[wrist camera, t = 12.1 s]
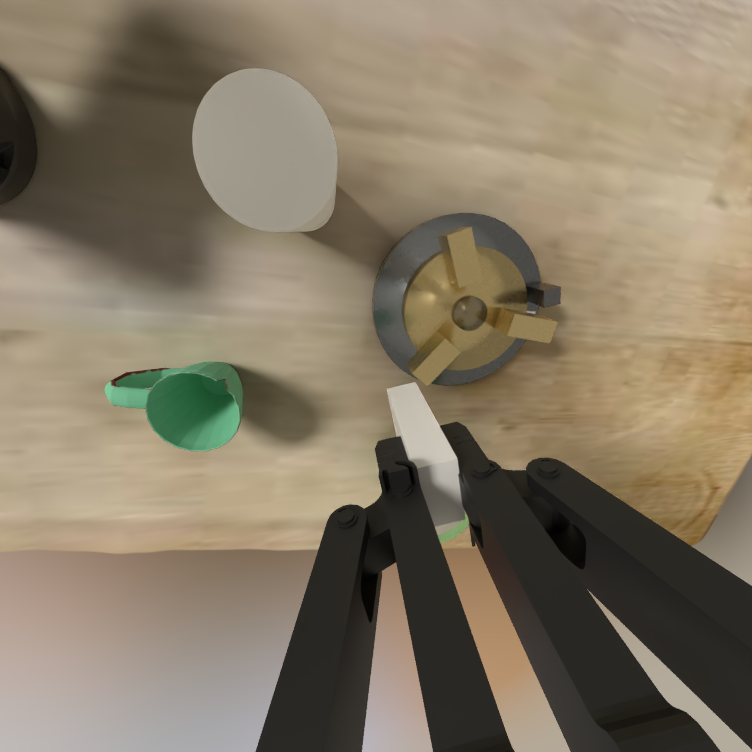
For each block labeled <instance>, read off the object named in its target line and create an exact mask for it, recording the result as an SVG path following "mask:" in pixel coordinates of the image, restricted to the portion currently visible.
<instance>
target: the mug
mask: <svg viewBox="0 0 752 752" xmlns="http://www.w3.org/2000/svg"><path fill="white" fill-rule="evenodd" d="M149 387H152V388H151V389H143V388H149ZM105 394H106V396H107V397H108V399H109V400H110V402H111V403H112V405H114V406H120V407H127V408H140V409H146V415H147V419H148V421H149V423H150V425H151V426H152V428H153V430H154V431H155V432H156V433H157V434H158V435H159V436H160V437H161V438H162V439H163V440H164V441H166V442H168V443H170V444H172V445H173V446H175V447H177V448H181V449H185V450H189V451H209V450H212V449H216V448H219V447H221V446H222V445H224V444H226V443H227V442H229V441H230V440H231V439H232V437H233V436H234V435H235V434H236V432H237V431H238V428H239V425H240V422H241V419H242V414H243V413H242V404H243V389H242V384H241V381H240V379H239V376H238V374H237V372H236V371H235V370H234V368H233V367H231V366H230V365H228V364H226V363H223V362H203V363H198V364H194V365H191V366H188V367H184V368H182V369H178V368H159V369H151V370H143V371H134V372H126V373H125V374H123V375H121V376H119V377H117V378H115V379H113V380H111V381H110V382H109V383H108V384H107V385H106V387H105Z"/></svg>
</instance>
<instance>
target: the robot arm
mask: <svg viewBox="0 0 752 752" xmlns="http://www.w3.org/2000/svg"><path fill="white" fill-rule="evenodd" d="M35 162H36V139H35V133H34V129H33V125H32V122H31V119H30V116H29V114H28V111H27V109H26V107H25V105H24V103H23V101H22V99H21V97H20V96H19V94H18V92H17V91H16V89H15V88H14V86H13V85H12V84H11V82H10V81H9V79H8V78H7V77H6V76H5V75H4V73H3V72H2V71H1V70H0V204H1V203H4V202H6V201H8V200H10V199H12V198H14V197H15V196H17V195H18V194H19V193H20V192H21V191H22V190H23V189H24V188H25V187H26V185H27V184H28V182H29V180H30V179H31V176H32V174H33V171H34V167H35ZM387 393H388V398H389V403H390V408H391V413H392V417H393V422H394V427H395V432H396V436H397V437H394V438H389V439H385V440H381V441H378V443H377V445H376V448H375V452H376V457H377V462H378V467H379V480H380V484H381V488H382V493H381V496H380V497H379V499H378V500H377V501H376V502H375V503H373V504H372V505H370V506H368V507H366V508H365V509H363V508H362V507H360V506H358V505H351V504H350V505H346V506H342V507H340V508H338V509H336V510H335V511H334V512H333V513H332V514H331V515H330V517H329V519H328V521H327V524H326V527H325V531H324V534H323V537H322V540H321V543H320V547H319V550H318V553H317V556H316V560H315V563H314V566H313V570H312V572H311V576H310V579H309V582H308V585H307V589H306V592H305V595H304V598H303V602H302V604H301V608H300V611H299V614H298V617H297V621H296V624H295V627H294V630H293V633H292V637H291V640H290V643H289V647H288V649H287V653H286V656H285V659H284V662H283V666H282V669H281V672H280V676H279V678H278V682H277V685H276V688H275V691H274V695H273V698H272V701H271V704H270V707H269V710H268V714H267V717H266V720H265V723H264V727H263V730H262V733H261V736H260V739H259V743H258V746H257V749H256V752H362V745H363V736H364V727H365V718H366V710H367V701H368V693H369V684H370V675H371V666H372V658H373V649H374V640H375V632H376V622H377V614H378V605H379V597H380V588H381V579H382V570H384V569H385V568H387V567H389V566H390V565H392V564H394V563H395V562H396V563H397V568H398V573H399V578H400V584H401V589H402V594H403V599H404V604H405V609H406V614H407V619H408V625H409V630H410V635H411V640H412V645H413V650H414V656H415V661H416V666H417V671H418V676H419V681H420V686H421V691H422V696H423V702H424V707H425V712H426V717H427V722H428V727H429V732H430V738H431V742H432V748H433V752H515V751H514V750H513V748H512V746H511V744H510V741H509V739H508V736H507V733H506V731H505V727H504V725H503V722H502V719H501V716H500V713H499V710H498V708H497V704H496V702H495V699H494V696H493V693H492V690H491V687H490V684H489V681H488V679H487V676H486V673H485V670H484V667H483V664H482V662H481V659H480V656H479V653H478V650H477V647H476V644H475V641H474V638H473V635H472V633H471V630H470V627H469V624H468V621H467V618H466V615H465V613H464V610H463V607H462V604H461V601H460V598H459V595H458V592H457V589H456V587H455V584H454V581H453V578H452V575H451V572H450V569H449V567H448V564H447V561H446V558H445V555H444V552H443V549H442V546H441V544H440V541H439V538H438V535H437V532H436V529H435V527H436V526H440V525H444V524H449V523H453V522H457V521H461V520H465V513H464V510H465V512H466V514H467V516H468V519H469V526H470V534H471V542H472V547H473V546H475V542H476V544H477V546H478V549H479V551H480V553H481V555H482V557H483V560H484V562H485V564H486V566H487V568H488V571H489V573H490V575H491V577H492V579H493V582H494V584H495V586H496V588H497V590H498V593H499V595H500V597H501V599H502V601H503V603H504V606H505V608H506V610H507V612H508V614H509V617H510V619H511V621H512V623H513V626H514V627H515V630H516V632H517V634H518V637H519V639H520V641H521V643H522V645H523V647H524V650H525V652H526V654H527V656H528V659H529V661H530V663H531V665H532V667H533V670H534V672H535V674H536V676H537V678H538V680H539V683H540V685H541V687H542V689H543V691H544V694H545V696H546V698H547V700H548V702H549V705H550V707H551V709H552V711H553V714H554V716H555V718H556V720H557V722H558V725H559V727H560V729H561V731H562V733H563V736H564V738H565V740H566V742H567V744H568V747H569V749H570V751H571V752H720V750H719V749H718V748H717V746H716V745H715V744H714V742H713V741H712V739H711V738H710V737H709V736H708V735H707V733H706V732H705V731H704V730H703V729H702V727H701V726H700V725H699V724H698V723H697V721H695V720H694V719H693V718H692V717H691V716H690V715H689V714H687V713H686V712H684V711H682V710H680V709H677V708H675V707H673V706H671V705H670V704H669V703H668V702H667V701H666V700H665V699H664V697H663V696H662V695H661V693H660V692H659V691H658V689H657V688H656V686H655V685H654V684H653V682H652V681H651V680H650V678H649V677H648V675H647V674H646V672H645V671H644V669H643V668H642V667H641V665H640V664H639V662H638V661H637V660H636V658H635V657H634V655H633V654H632V653H631V651H630V650H629V648H628V647H627V646H626V644H625V643H624V641H623V640H622V639H621V637H620V636H619V634H618V633H617V631H616V630H615V628H614V627H613V626H612V624H611V623H610V621H609V620H608V618H607V617H606V616H605V614H604V613H603V611H602V610H601V609H600V607H599V606H598V604H597V603H596V602H595V600H594V599H593V597H592V596H591V594H590V593H589V592H588V590H589V591H590V592H591V593H592V594H593V595H594V596H595V597H596V598H597V599H598V600H599V601H600V602H601V603H602V604H603V605H604V606H605V607H606V608H607V609H608V610H609V611H610V612H611V613H612V614H614V616H615V617H617V618H618V619H619V620H620V621H621V622H622V623H623V624H624V625H625V626H626V627H627V628H628V629H629V630H630V631H631V632H632V633H633V634H634V635H635V636H636V637H637V638H638V639H639V640H640V641H641V642H642V643H643V644H644V645H645V646H646V647H647V648H648V649H649V650H651V652H652V653H654V655H655V656H657V657H658V658H659V659H660V660H661V661H662V662H663V663H664V664H665V665H666V666H667V667H668V668H669V669H670V670H671V671H672V672H673V673H674V674H675V675H676V676H677V677H678V678H679V679H680V680H681V681H682V682H683V683H684V684H685V685H686V686H687V687H689V689H690V690H691V691H692V692H694V694H696V695H697V696H698V697H699V698H700V699H701V700H702V701H703V702H704V703H705V704H706V705H707V706H708V707H709V708H710V709H711V710H712V711H713V712H714V713H715V714H716V715H717V716H718V717H719V718H720V719H721V720H722V721H723V722H724V723H725V724H726V725H727V726H728V727H729V728H730V729H731V730H732V731H733V732H735V734H737V735H738V736H739V737H740V738H741V739H742V740H743V741H744V742H745V743H746V744H747V745H748V746H749V747H750V748H751V749H752V586H751V585H749V584H748V583H746V582H745V581H743V580H742V579H740V578H739V577H737V576H736V575H734V574H732V573H731V572H730V571H728V570H726V569H725V568H723V567H722V566H720V565H719V564H717V563H716V562H714V561H712V560H711V559H709V558H708V557H707V556H705V555H704V554H702V553H701V552H699V551H697V550H696V549H694V548H693V547H691V546H690V545H688V544H687V543H685V542H684V541H682V540H681V539H679V538H678V537H676V536H675V535H673V534H672V533H670V532H668V531H667V530H665V529H664V528H662V527H661V526H659V525H658V524H656V523H655V522H653V521H652V520H650V519H649V518H647V517H646V516H644V515H643V514H641V513H639V512H638V511H636V510H635V509H633V508H632V507H630V506H629V505H627V504H626V503H624V502H623V501H621V500H620V499H618V498H617V497H615V496H614V495H612V494H610V493H609V492H607V491H606V490H604V489H603V488H601V487H600V486H598V485H597V484H595V483H594V482H592V481H591V480H589V479H588V478H586V477H585V476H583V475H581V474H580V473H578V472H577V471H575V470H574V469H572V468H571V467H569V466H568V465H566V464H565V463H563V462H561V461H559V460H556V459H552V458H538V459H535V460H532V461H531V462H530V463H528V465H527V467H526V470H505V469H502V468H501V467H500V466H499V465H498V464H497V463H496V462H493V461H491V460H488V459H487V457H486V456H485V454H484V453H483V451H482V450H481V448H480V447H479V445H478V444H477V442H476V441H475V440H474V438H473V437H472V435H471V434H470V432H469V431H468V429H467V428H466V427H465V426H464V425H462V424H460V423H458V422H454V423H450V424H446V425H441V426H439V424H438V422H437V420H436V419H435V417H434V415H433V413H432V411H431V410H430V408H429V406H428V404H427V402H426V400H425V399H424V397H423V395H422V393H421V391H420V389H419V388H418V386H417V384H416V382H414V383H409V384H405V385H401V386H396V387H392V388H388V389H387ZM586 588H587V589H588V590H587V589H586Z"/></svg>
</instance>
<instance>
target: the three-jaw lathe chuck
mask: <svg viewBox="0 0 752 752" xmlns="http://www.w3.org/2000/svg"><path fill="white" fill-rule="evenodd" d="M438 239H439V243H440V247H441V251H438V252H437V253H435V254H433V255H432V256H430V257H429V258H427V259H426V260H425V261H424V262H423V263H422V264H421V265H420V266H419V267H418V268H417V269H416V271H415V272H414V273H413V275H412V276H411V278H410V280H409V282H408V284H407V286H406V288H405V292H404V295H403V300H402V321H403V325H404V328H405V331H406V333H407V335H408V337H409V339H410V341H411V342H412V343H413V345H414V346H415V348H416V349H417V350H418V351H417V352H416V353H415V355H414V356H413V357H412V358H411V359H410V360H409V361H408V362H407V363H406V364H407V366H408V367H409V369H410V371H411V373H412V374H413V375H414V376H415V377H417V378H418V379H419V380H420V381H421V382H423V383H424V384H425V385H426V386H429V385H430V384H431V383H432V382H433V381H434V380H435V378H436V377H437V376H438V375H439V374H440V373H441V372H442V371H443V370H444V369H449V370H469V369H474V368H478V367H481V366H483V365H486V364H488V363H490V362H491V361H493V360H495V359H496V358H498V357H499V356H500V355H501V354H503V353H504V352H505V351H506V350H507V349H508V348H509V347H510V346H511V344H512V343H513V342H514V340H515V339H516V338H522V339H528V340H533V341H539V342H544V343H550V342H551V340H552V337H553V334H554V332H555V329H556V327H557V324H558V322H557V321H554V320H552V319H550V318H547V317H545V316H542V315H537V314H532V313H527V312H526V311H527V300H528V299H527V290H526V285H525V282H524V279H523V277H522V275H521V273H520V271H519V269H518V268H517V267H516V265H515V264H514V263H513V262H512V261H511V260H510V259H509V258H508V257H506V256H505V255H504V254H502V253H500V252H498V251H496V250H494V249H491V248H487V247H482V246H475V242H474V237H473V232H472V227H460V228H457V229H454V230H451V231H449V232H446V233H443V234H440V235H438Z"/></svg>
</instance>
